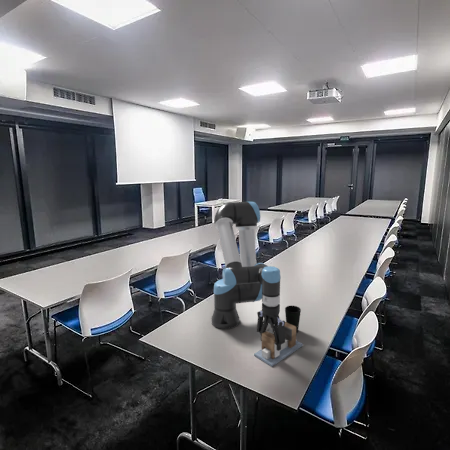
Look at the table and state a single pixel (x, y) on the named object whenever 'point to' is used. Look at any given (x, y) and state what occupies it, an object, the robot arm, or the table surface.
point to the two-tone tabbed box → (268, 342)
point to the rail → (284, 352)
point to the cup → (293, 316)
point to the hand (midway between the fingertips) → (270, 352)
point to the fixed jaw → (290, 334)
